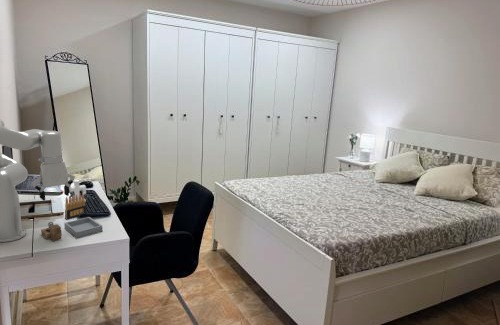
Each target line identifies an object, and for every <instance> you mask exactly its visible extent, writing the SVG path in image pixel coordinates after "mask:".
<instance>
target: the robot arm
mask: <svg viewBox="0 0 500 325" xmlns="http://www.w3.org/2000/svg"><path fill="white" fill-rule="evenodd" d="M61 135H62V134H61V133H60V132H59V131H56V130H42V129H40V128H39V129H36V128H32V129H28V130H23V131H19V130H14V129H10V128H8V127H5V123H4V121H3V120H2V119H0V145H1V146H3V147H8V148H11V149H15V150H19V151H28V150H32V149H34V148H38V147H40V149H41V157H40V158H38V162H39V163H40V166H39V167H40V168H39V177H37V178H36V179H34V180H32V181H31V185H32V186H33V188H34V189H36V190H37V191H39V192H38V193H39V199H41V200H42V201H46V194H45V193H46V192H45V189H46V188H52V187H58V186H63V185H64V186H63V190H64V195H66V197H70V193H71V192H70V191H69V187H70V185H71V186H72V185H73V184H74V180H75V178H76V176H75V175H73V174H69V173H68V170H67V166H66V165H67V164H66V163H65V161H63V152H62V151H63V149H62V137H61ZM28 176H29V172H28V169H27V168H26V167H25V165H23V164H22V163H21V162H18V161H17V160H15V159H13V158H11V157H9V156H7V155H5V154H4V153H2V152H0V243H8V242H14V241H17V240H19V239H21V238H24V237H25V236H26V235H27V232H26V229H25V228H23V227H22V218H21V206H20V198H19V193H18V191H17V190H16V186H18V185H20V184H22V183H23V182H25V181H26V180H27V178H28ZM38 183H40V186H38Z"/></svg>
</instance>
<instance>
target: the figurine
mask: <svg viewBox="0 0 500 325" xmlns="http://www.w3.org/2000/svg"><path fill="white" fill-rule="evenodd" d="M69 191H70V193H72V192H73V193H74V198H75V197H76V195H77V196H78V201H79V194H80V195H81V193H80V191H81V192H82V193H83V194H84V195H86V194H87V186H86V185H85V184H82V185H81V184H80V180H79V179H74V180H73V186H72V184H71V185H70V187H69ZM71 201H72V197H71ZM81 201H82V196H81ZM86 202H87V199H85V203H86Z"/></svg>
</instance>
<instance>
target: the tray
mask: <svg viewBox="0 0 500 325" xmlns="http://www.w3.org/2000/svg"><path fill="white" fill-rule="evenodd" d="M63 225H64V230H65V231H66V232H68V233H70V235H71V236H73V237H74V238H76V239H80V238H83V237H84V238H85V237H87V236H91V235H95V234H98V233H99V234H100V233H102V232H104V231H103V225H102V224H100V223H99V222H97V221H96V220H95V219H93V218H92V217H90V216H87V217H84V218H79V219H75V220H71V221H66V222H64V224H63Z"/></svg>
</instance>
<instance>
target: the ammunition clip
mask: <svg viewBox="0 0 500 325" xmlns="http://www.w3.org/2000/svg"><path fill="white" fill-rule="evenodd" d="M81 197H82V201H81ZM71 198H72V201H71ZM85 200H86V199H85V194H83V192H82V193H80V194H79V201H78V196H77V195H76V197H75V194H73V195H72V196H66V197H65V209H64V219H65V220H67V221H68V220H72V219H75V218H78V217H80V216H79V213H81V212H86V213H87V207H86V206H87V205H86V202H85Z"/></svg>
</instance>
